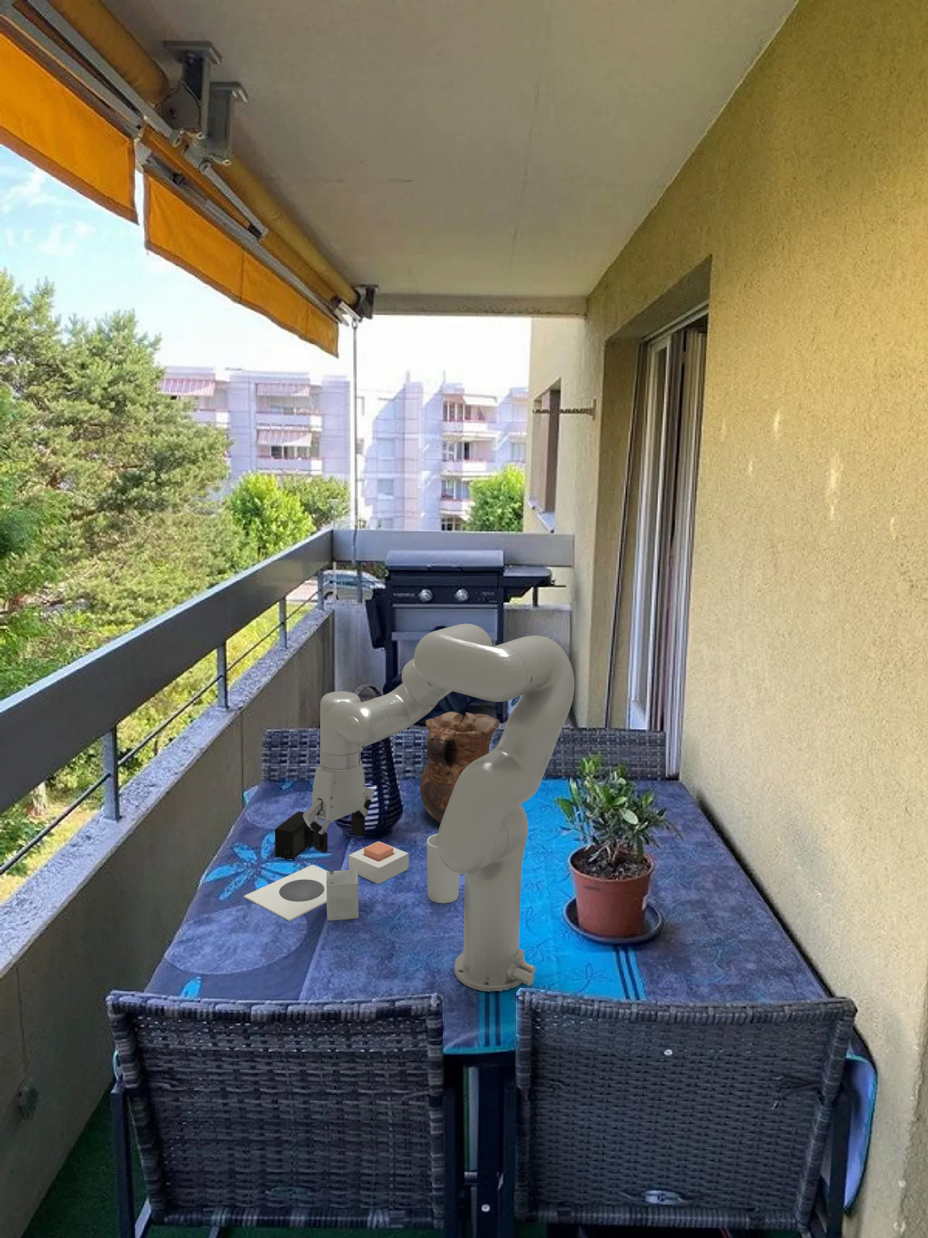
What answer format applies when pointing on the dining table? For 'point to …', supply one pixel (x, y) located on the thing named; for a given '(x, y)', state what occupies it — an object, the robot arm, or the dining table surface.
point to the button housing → (379, 865)
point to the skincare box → (342, 895)
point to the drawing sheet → (293, 893)
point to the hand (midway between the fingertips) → (339, 842)
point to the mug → (440, 876)
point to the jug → (452, 755)
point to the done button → (378, 851)
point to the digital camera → (293, 837)
